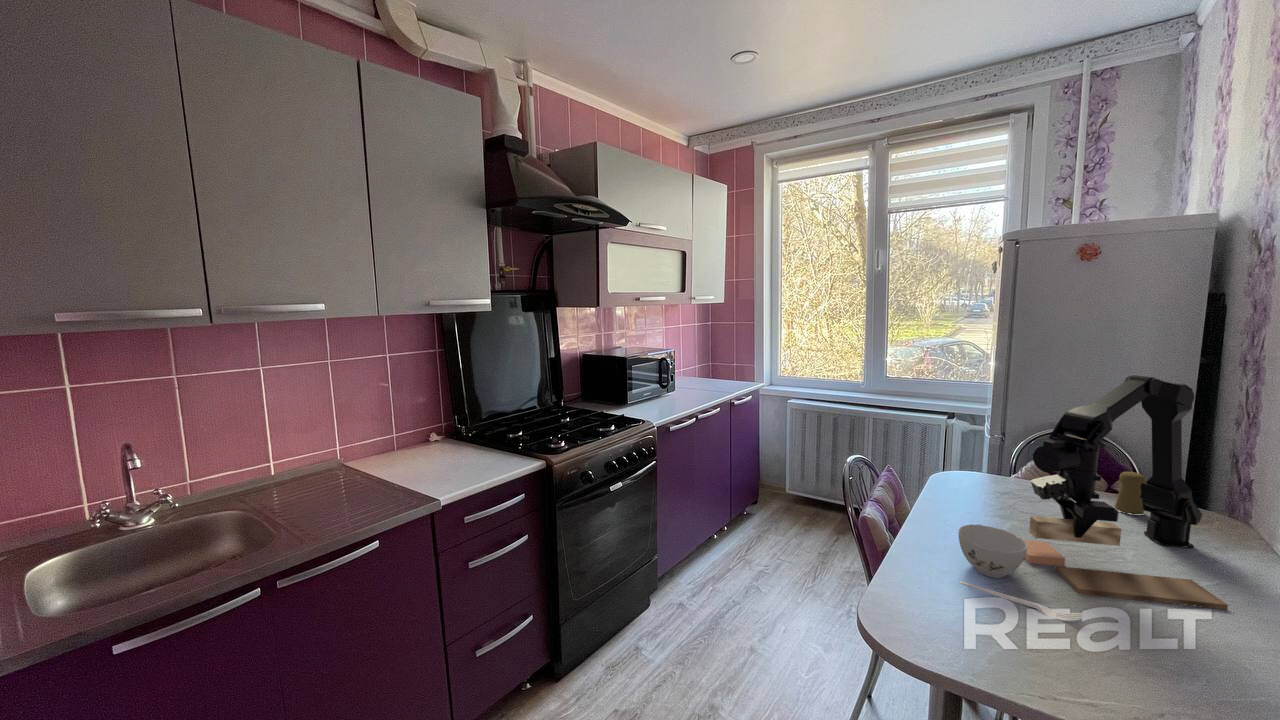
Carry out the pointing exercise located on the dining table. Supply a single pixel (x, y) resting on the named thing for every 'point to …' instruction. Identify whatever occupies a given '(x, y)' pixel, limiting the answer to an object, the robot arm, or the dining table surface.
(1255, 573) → the dining table surface
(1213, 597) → the rest board
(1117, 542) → the oak scraper
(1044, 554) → the glazed tile
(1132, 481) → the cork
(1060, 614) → the fork
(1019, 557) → the floral ceramic bowl
